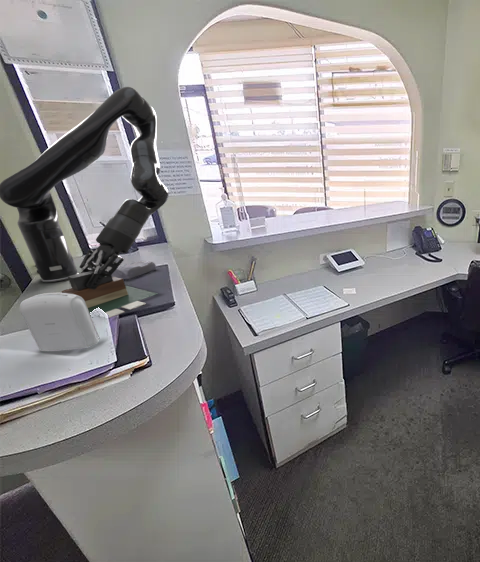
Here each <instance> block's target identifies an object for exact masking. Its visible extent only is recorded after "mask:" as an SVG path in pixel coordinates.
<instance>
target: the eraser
mask: <svg viewBox="0 0 480 562" xmlns="http://www.w3.org/2000/svg"><path fill="white" fill-rule="evenodd" d="M94 271H95V270H92V271H88V272H84V273H81V272H80V273H79V274H76V275H72V276H68V279H67V280H68V281H69V284H70V287H71V288H67V289H64V290H61V291H60V293H69V294H74V295H78V296H80V297H82V298H83V299H84V301H85V303H86V306H87V308H90V307H93V306H96V305H99V304H102V303H105V302H108V301H111V300H114V299H117V298H120V297H123V296H126V295H128V293H127V290H126V287H125V285H126V284H125V280H124V279H122V278H117V277H112V276H106V277H105V278H104V277H103V279H102V280H101V282H100V283H99V285H98V286H97V288H96V289H90V288H88V287H86V286H85V285H86V284H87V282H88V281H89V279H90V278H91V276H92V275H93V274H94ZM109 271H110V270H109Z"/></svg>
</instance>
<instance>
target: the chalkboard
mask: <svg viewBox="0 0 480 562" xmlns="http://www.w3.org/2000/svg"><path fill="white" fill-rule="evenodd" d="M125 287H126V290H127V293H128V295H126V296H123V297H120V298H117V299H114V300H111V301H108V302H105V303H102V304H99V305H96V306H93V307H90V308H88V311H89V313H90V312H92V311H93V310H94V309H96V308H98V307H99V308H100V309H102V310H103V311H104V312H108V311H111V310H114V309H120V308H122V306H125V305H127V304H130V303H133V302H136V301H139V302H141V301H142V300H145V299H148V298H151V297H153V296H156V295H159V293H157V292H154V291H151V290H145V289H141V288H137V287H133V286H130V285H126V284H125Z"/></svg>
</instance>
